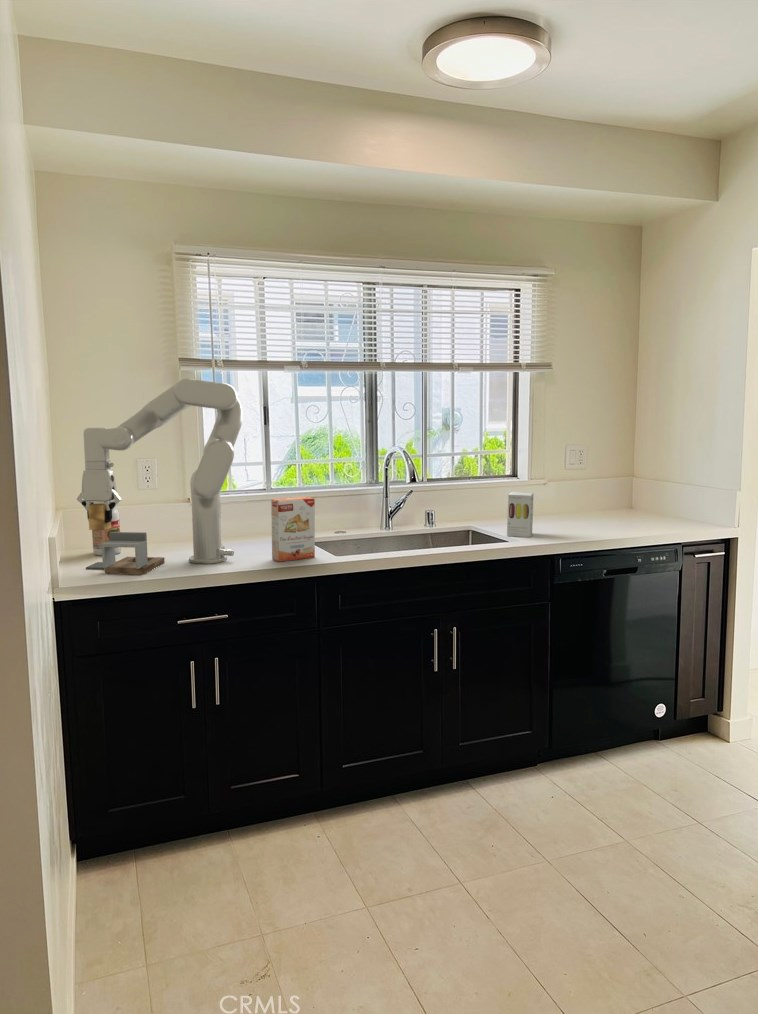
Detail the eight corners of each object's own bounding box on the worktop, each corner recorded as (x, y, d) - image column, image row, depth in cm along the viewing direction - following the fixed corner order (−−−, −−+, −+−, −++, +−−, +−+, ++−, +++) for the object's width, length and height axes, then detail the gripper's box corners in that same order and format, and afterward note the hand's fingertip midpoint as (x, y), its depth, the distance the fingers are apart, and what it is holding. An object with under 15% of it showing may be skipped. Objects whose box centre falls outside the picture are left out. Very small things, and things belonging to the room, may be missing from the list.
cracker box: (279, 562, 251) (277, 500, 248) (271, 559, 256) (270, 498, 253) (316, 557, 258) (315, 497, 255) (307, 554, 263) (306, 495, 260)
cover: (147, 563, 239) (146, 532, 237) (138, 568, 232) (136, 536, 230) (113, 563, 240) (111, 531, 239) (102, 568, 233) (101, 535, 232)
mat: (120, 564, 249) (120, 562, 249) (109, 569, 241) (109, 567, 241) (97, 563, 250) (97, 562, 250) (85, 569, 242) (85, 567, 242)
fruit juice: (98, 550, 272) (94, 474, 268) (124, 550, 272) (120, 473, 268) (89, 556, 262) (84, 476, 258) (116, 555, 262) (112, 476, 258)
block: (111, 527, 246) (110, 503, 245) (104, 530, 241) (102, 505, 240) (96, 527, 246) (95, 503, 245) (89, 529, 241) (88, 505, 240)
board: (164, 563, 250) (164, 557, 250) (144, 574, 235) (144, 567, 234) (127, 562, 252) (127, 556, 251) (105, 573, 236) (104, 567, 236)
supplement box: (506, 536, 297) (507, 494, 295) (509, 532, 306) (510, 491, 304) (530, 537, 294) (531, 495, 292) (532, 533, 303) (533, 492, 301)
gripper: (127, 465, 243) (130, 520, 246) (78, 464, 245) (81, 519, 248) (117, 467, 236) (119, 524, 239) (66, 466, 238) (69, 523, 240)
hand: (100, 521), depth 243 cm, fingers closed on block, 4 cm apart
